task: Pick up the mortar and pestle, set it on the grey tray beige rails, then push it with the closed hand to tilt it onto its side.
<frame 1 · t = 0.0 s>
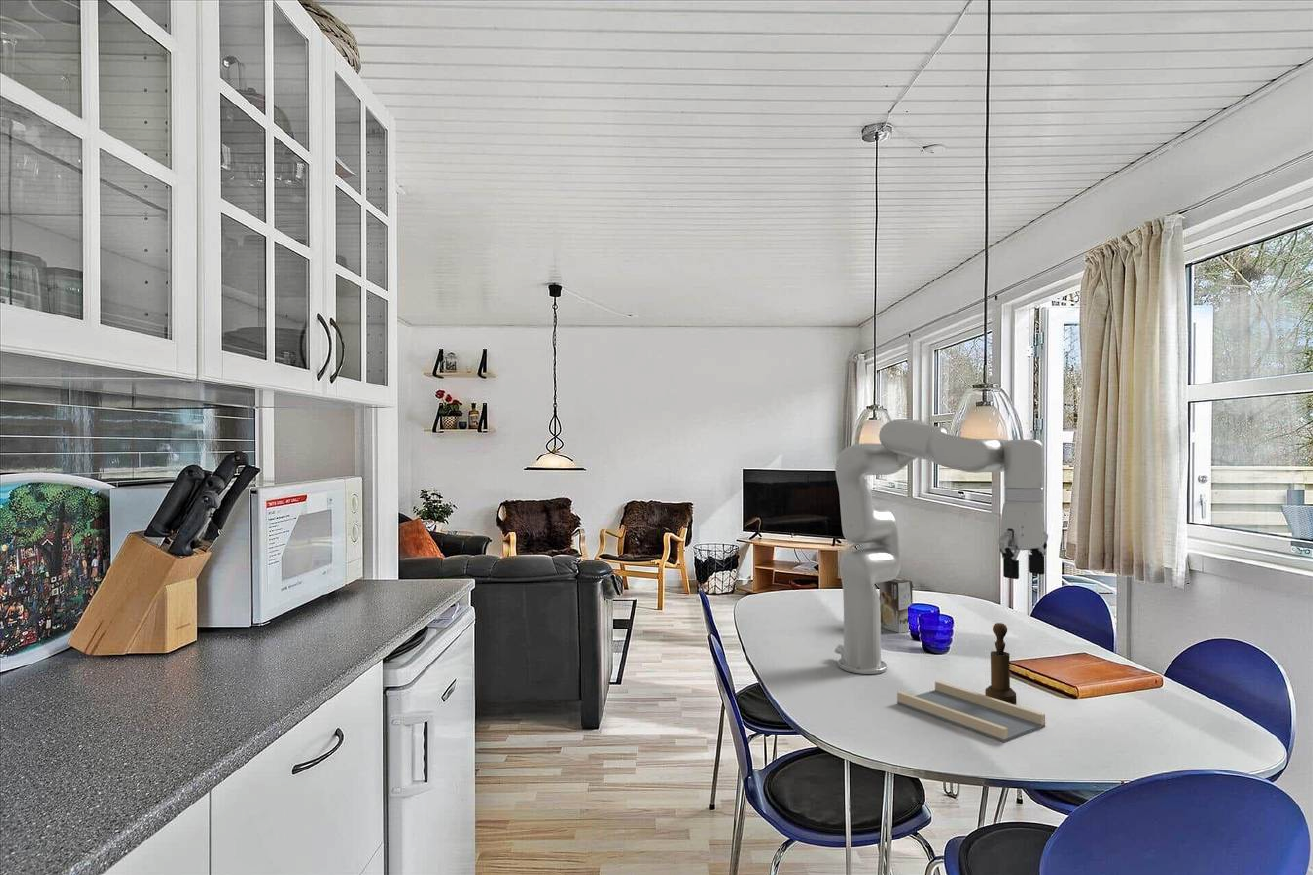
hand: (1024, 575, 156), 31 cm above the table, tool pointing down, fingers open, 9 cm apart
coffee box: (896, 629, 234), on the table
grey tray beige rails: (968, 714, 159), on the table
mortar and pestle: (1000, 701, 168), on the table
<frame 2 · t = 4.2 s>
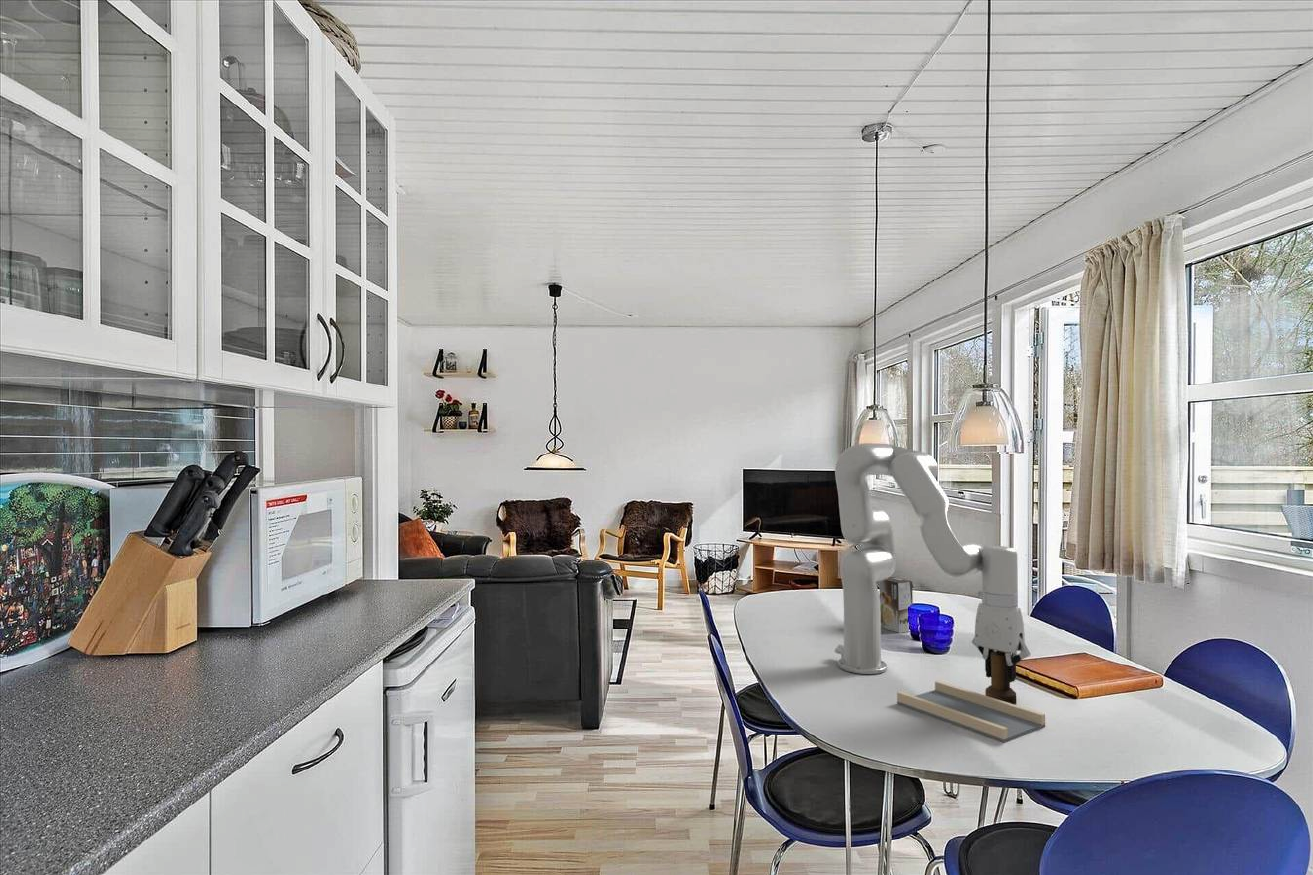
hand: (1000, 678, 168), 5 cm above the table, tool pointing down, fingers closed on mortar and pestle, 3 cm apart
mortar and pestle: (1000, 701, 168), on the table, touching gripper
everything else where it was.
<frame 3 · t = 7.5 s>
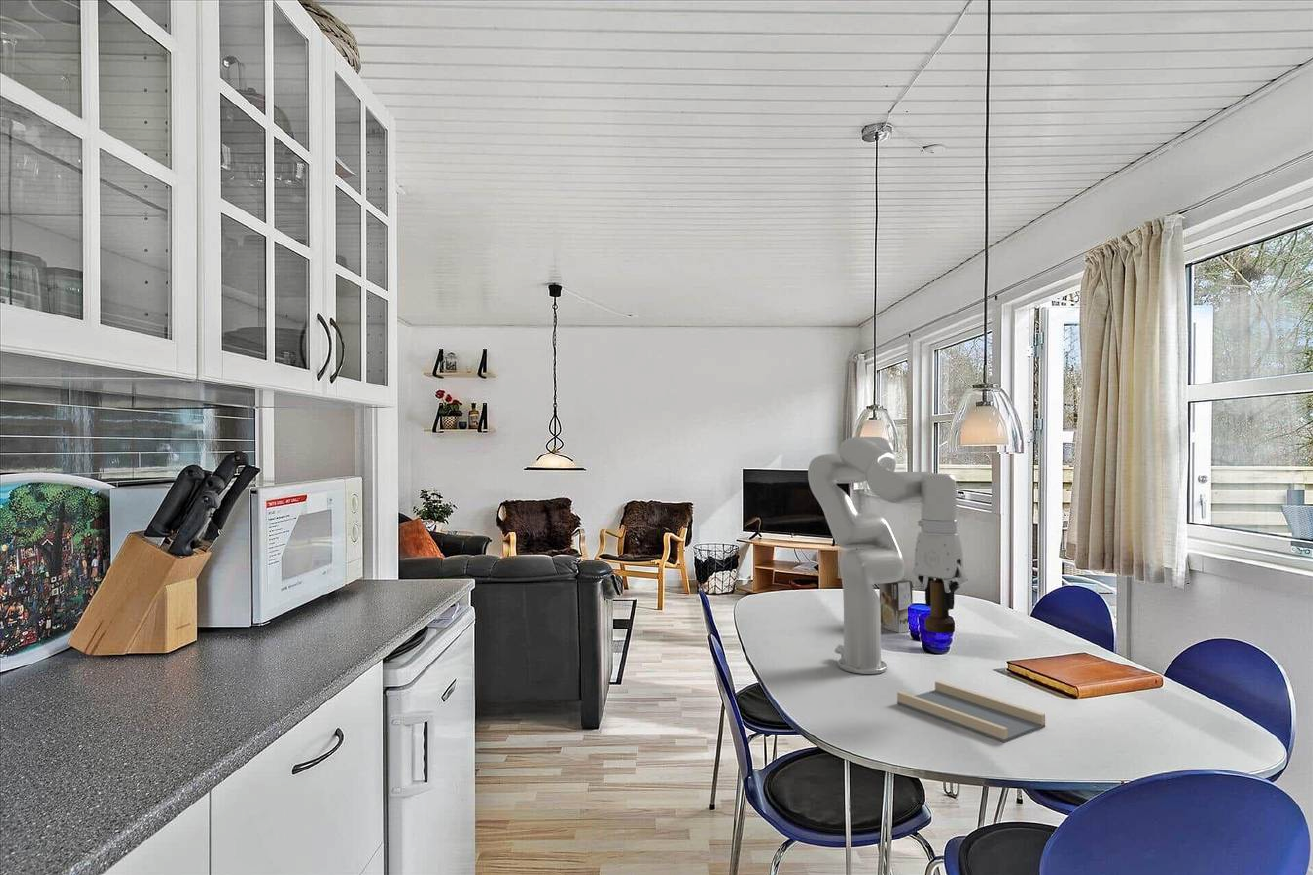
hand: (939, 606, 165), 22 cm above the table, tool pointing down, fingers closed on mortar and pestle, 3 cm apart
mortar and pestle: (939, 630, 165), point 17 cm above the table, touching gripper
everything else where it was.
when the fingers open (7 cm above the table, at t = 10.9 s): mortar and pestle drops 1 cm, resting on grey tray beige rails.
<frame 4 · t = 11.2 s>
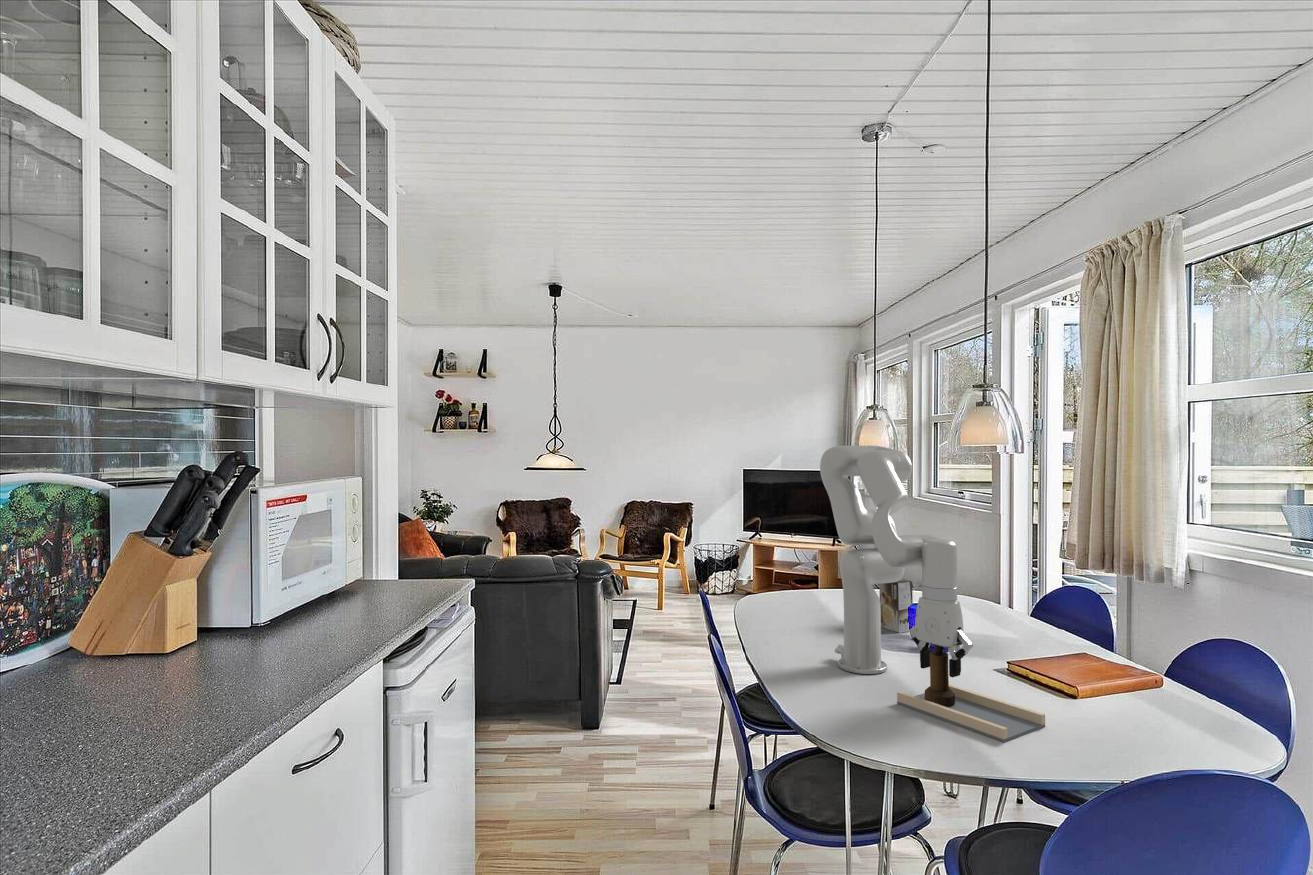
hand: (940, 671, 165), 8 cm above the table, tool pointing down, fingers open, 7 cm apart
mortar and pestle: (939, 702, 165), resting on grey tray beige rails
everything else where it was.
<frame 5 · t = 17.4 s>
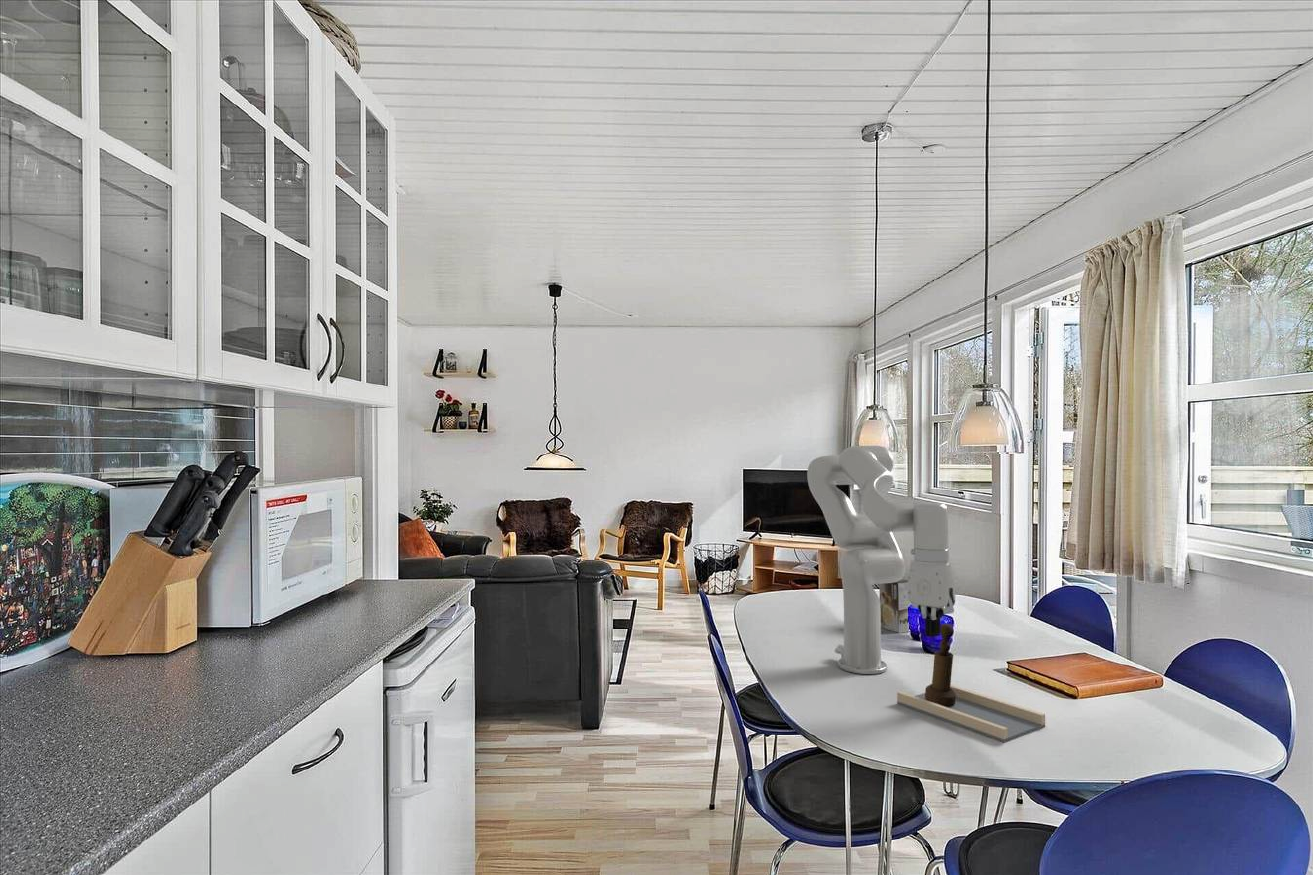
hand: (932, 635, 167), 15 cm above the table, tool pointing down, fingers closed
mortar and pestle: (939, 701, 165), point 1 cm above the table, touching gripper, grey tray beige rails
everything else where it was.
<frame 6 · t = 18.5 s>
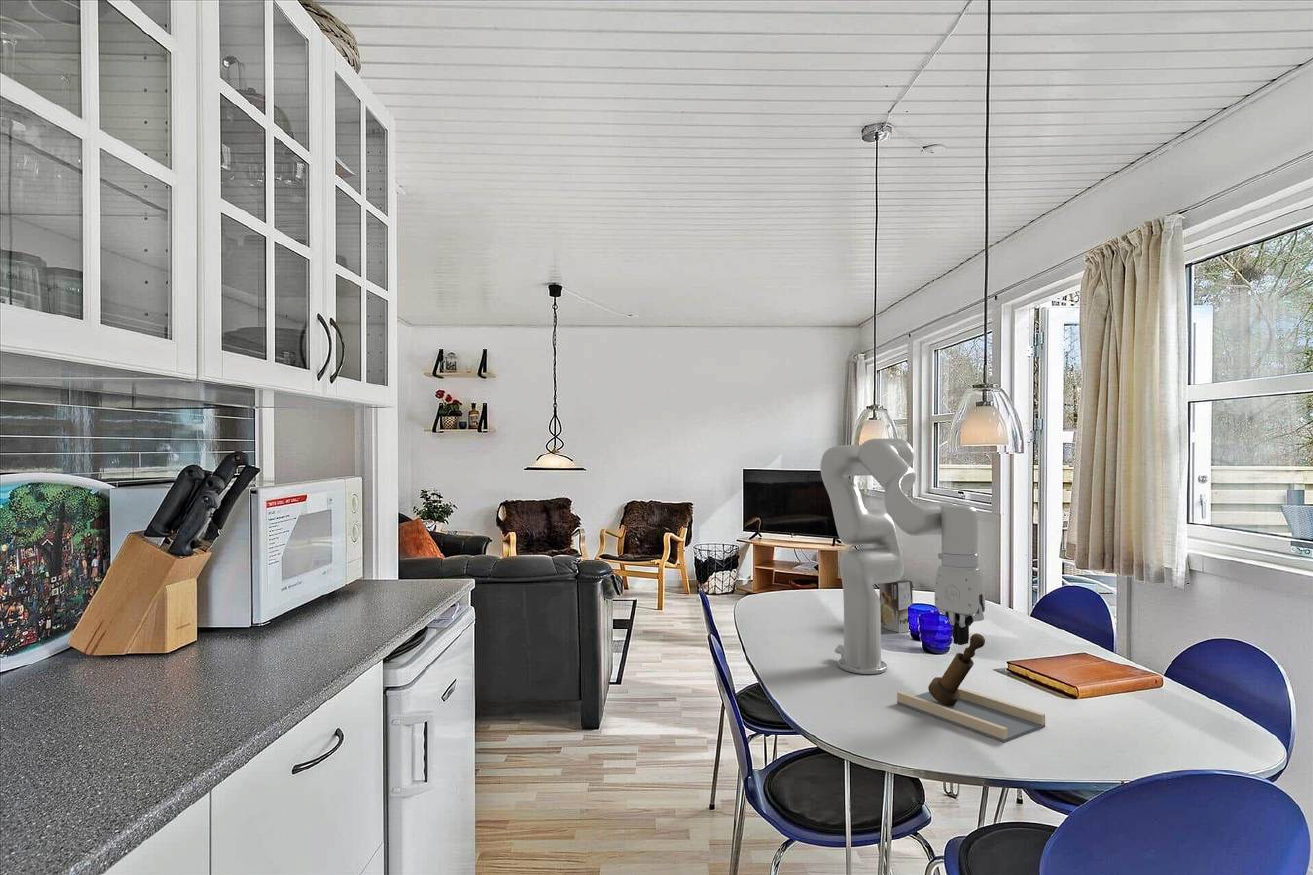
hand: (960, 643, 161), 15 cm above the table, tool pointing down, fingers closed
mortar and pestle: (941, 695, 165), point 2 cm above the table, touching grey tray beige rails
everything else where it was.
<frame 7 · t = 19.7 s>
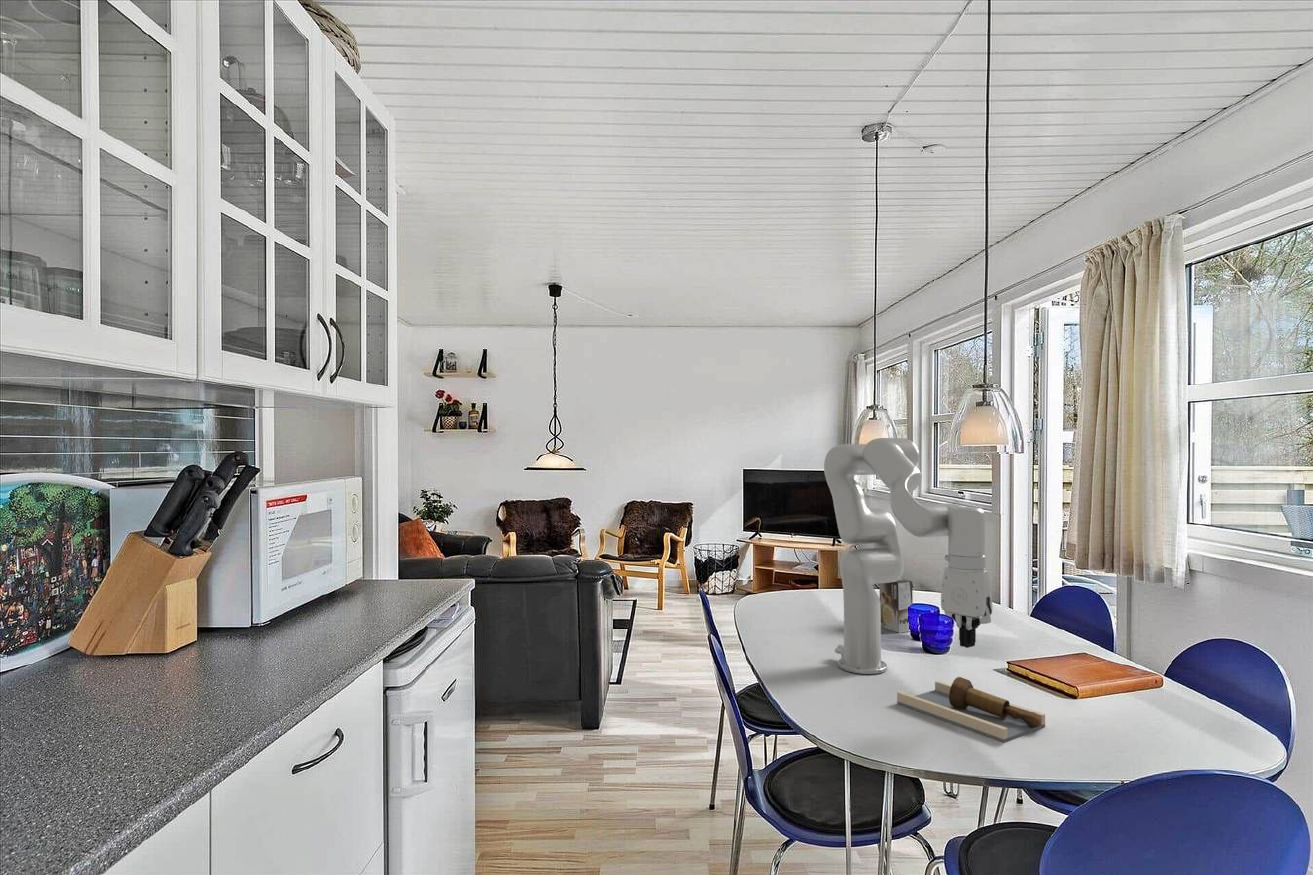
hand: (967, 645, 159), 15 cm above the table, tool pointing down, fingers closed
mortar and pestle: (954, 690, 163), point 4 cm above the table, touching grey tray beige rails
everything else where it was.
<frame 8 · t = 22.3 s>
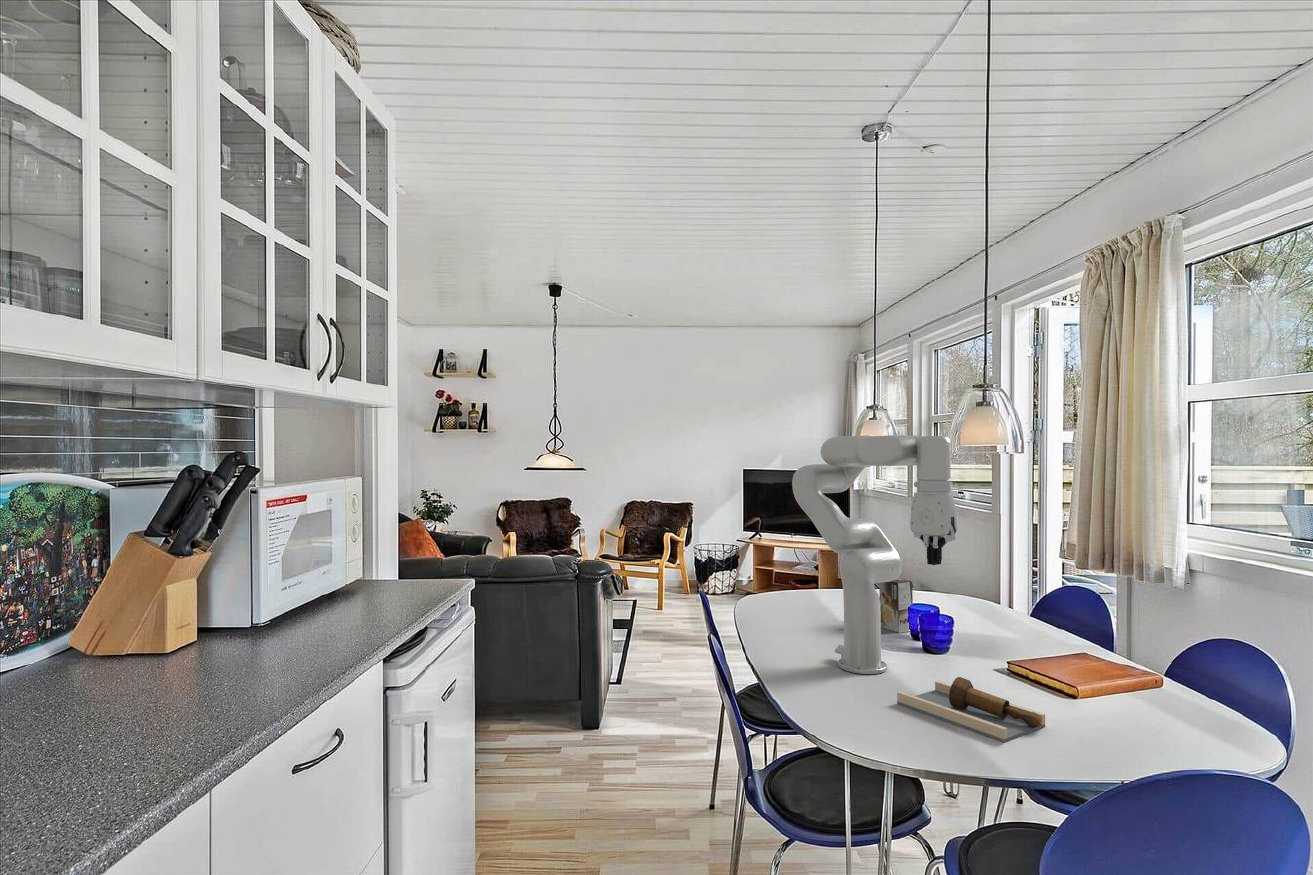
hand: (934, 564, 172), 31 cm above the table, tool pointing down, fingers closed
nothing on the table moved.
at the end: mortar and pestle tilted 96°; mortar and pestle inside the target area (4.0 cm from its centre), point 3.9 cm above the table; the gripper is holding nothing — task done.
